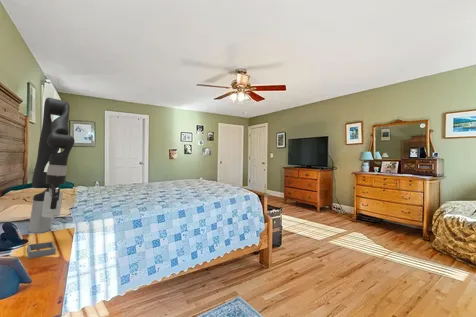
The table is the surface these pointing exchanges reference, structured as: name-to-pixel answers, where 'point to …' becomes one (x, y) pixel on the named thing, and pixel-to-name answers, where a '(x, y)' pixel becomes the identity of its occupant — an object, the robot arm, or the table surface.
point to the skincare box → (47, 203)
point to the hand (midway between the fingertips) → (51, 207)
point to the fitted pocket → (41, 252)
